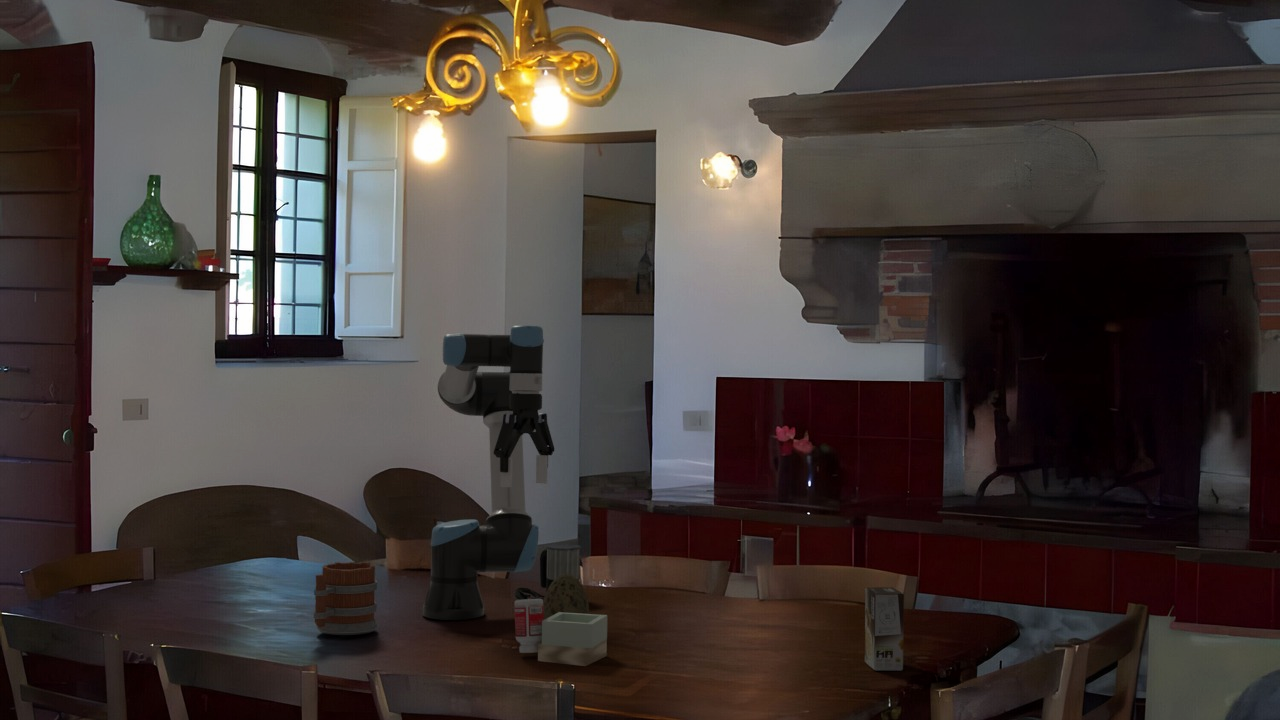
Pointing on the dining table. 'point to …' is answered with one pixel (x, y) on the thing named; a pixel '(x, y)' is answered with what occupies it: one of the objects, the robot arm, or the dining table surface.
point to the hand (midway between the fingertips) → (524, 485)
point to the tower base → (572, 654)
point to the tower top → (574, 630)
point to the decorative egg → (565, 597)
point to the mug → (346, 599)
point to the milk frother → (554, 567)
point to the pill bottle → (529, 624)
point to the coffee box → (884, 628)
